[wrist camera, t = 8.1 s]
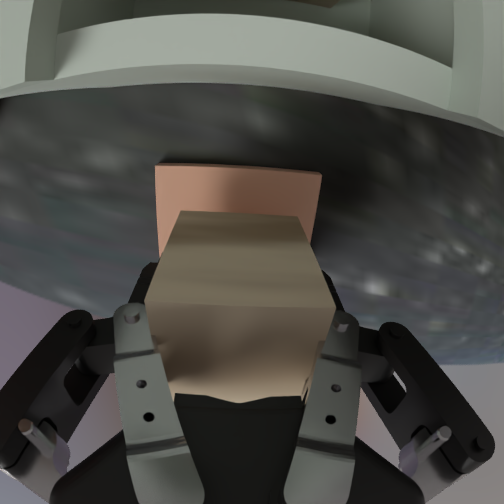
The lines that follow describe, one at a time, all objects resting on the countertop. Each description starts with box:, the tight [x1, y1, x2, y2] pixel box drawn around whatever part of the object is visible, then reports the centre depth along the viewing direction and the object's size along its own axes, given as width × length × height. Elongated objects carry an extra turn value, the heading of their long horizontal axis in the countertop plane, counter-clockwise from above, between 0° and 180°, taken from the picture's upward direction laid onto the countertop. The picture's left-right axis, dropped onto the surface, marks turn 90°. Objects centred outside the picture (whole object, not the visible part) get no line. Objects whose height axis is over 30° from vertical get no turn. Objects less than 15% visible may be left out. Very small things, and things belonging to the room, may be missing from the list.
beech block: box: [144, 210, 336, 403], centre depth 11 cm, size 5×5×6 cm
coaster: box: [155, 163, 322, 257], centre depth 16 cm, size 8×8×1 cm
